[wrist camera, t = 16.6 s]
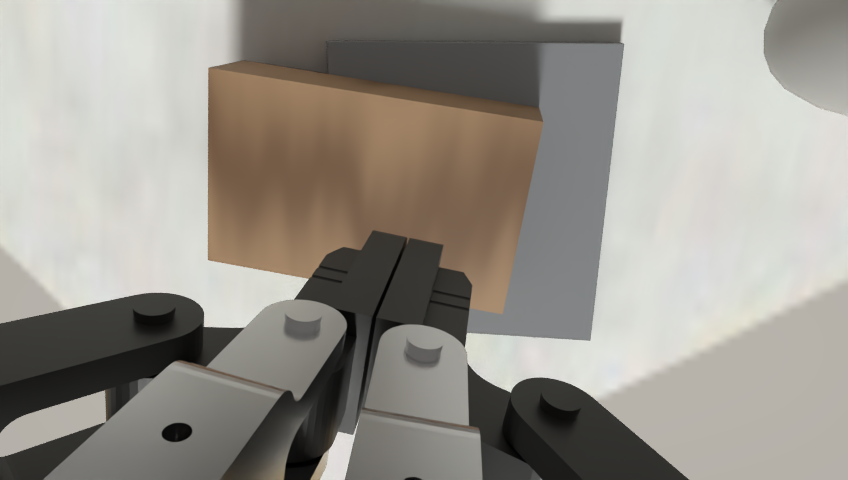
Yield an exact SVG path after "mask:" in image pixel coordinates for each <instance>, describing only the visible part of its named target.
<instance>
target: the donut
mask: <svg viewBox="0 0 848 480" xmlns="http://www.w3.org/2000/svg"><path fill="white" fill-rule="evenodd" d="M764 55H765V58H766V61H767V63H768V66H769V69H770V72H771V74H772V75H773V76H774V77H775V78H776V79H777V80H778V82H779V83H780V84H781V85H782V86H783V87H784V89H786V90H788V91H789V92H791V93H793V94H795V95H796V96H798V97H800V98H802V99H803V100H805V101H807V102H809V103H811V104H812V105H814V106H816V107H818V108H820V109H824V110H828V111H831V112H835V113H839V114H842V115H846V116H848V0H778V1H777V2H776V4H775V5H774V6H773V8H772V10H771V13H770V16H769V19H768V21H767V24H766V27H765V30H764Z"/></svg>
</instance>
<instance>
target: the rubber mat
mask: <svg viewBox="0 0 848 480" xmlns="http://www.w3.org/2000/svg"><path fill="white" fill-rule="evenodd" d="M326 44H327V62H328V74H332V75H338V76H345V77H351V78H357V79H363V80H370V81H376V82H382V83H388V84H395V85H401V86H407V87H413V88H420V89H426V90H432V91H438V92H445V93H451V94H457V95H463V96H470V97H476V98H482V99H488V100H495V101H501V102H507V103H513V104H520V105H526V106H532V107H538V108H539V109H540V112H541V115H542V119H543V127H542V132H541V136H540V141H539V146H538V150H537V155H536V160H535V164H534V169H533V174H532V179H531V183H530V188H529V193H528V197H527V202H526V207H525V211H524V216H523V221H522V226H521V230H520V235H519V240H518V244H517V249H516V254H515V258H514V263H513V268H512V273H511V277H510V282H509V287H508V291H507V296H506V301H505V305H504V310H503V314H498V313H493V312H487V311H482V310H476V309H471V308H470V309H469V318H468V326H467V333H480V334H496V335H511V336H527V337H542V338H558V339H573V340H589V341H590V338H591V330H592V321H593V312H594V303H595V295H596V286H597V277H598V268H599V260H600V251H601V242H602V233H603V225H604V216H605V207H606V198H607V190H608V181H609V172H610V163H611V155H612V146H613V137H614V128H615V119H616V111H617V102H618V93H619V84H620V76H621V67H622V58H623V49H624V44H623V43H580V42H440V41H328V42H326Z"/></svg>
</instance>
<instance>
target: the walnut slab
mask: <svg viewBox="0 0 848 480" xmlns="http://www.w3.org/2000/svg"><path fill="white" fill-rule="evenodd" d="M542 127H543V119H542V115H541V112H540V109H539V108H538V107H532V106H526V105H520V104H513V103H507V102H501V101H495V100H488V99H482V98H476V97H470V96H463V95H457V94H451V93H445V92H438V91H432V90H426V89H420V88H413V87H407V86H401V85H395V84H388V83H382V82H376V81H370V80H363V79H357V78H351V77H345V76H338V75H332V74H326V73H320V72H313V71H307V70H301V69H295V68H288V67H282V66H276V65H270V64H263V63H257V62H251V61H245V60H244V61H239V62H234V63H229V64H225V65H220V66H215V67H210V68H209V73H208V260H210V261H216V262H221V263H227V264H232V265H237V266H243V267H248V268H254V269H259V270H265V271H270V272H275V273H281V274H286V275H292V276H297V277H303V278H308V279H309V278H310V277H312V274H313V273H314V271H315V270H316V269H317V268H318V267H319V264H320V263H321V262H322V260H323V259H324V258H325V256H326V255H327V254H329V253H331V252H333V251H335V250H337V249H340V248H342V247H347V248H352V249H356V250H361V249H362V248H363V246H364V244H365V243H366V241H367V239H368V238H369V236H370V234H371V233H372V231H373V230H375V231H380V232H385V233H390V234H394V235H399V236H404V237H407V243H408V241H409V238H414V239H418V240H423V241H428V242H433V243H437V244H442V245H444V246H443V251H442V257H441V262H440V266H439V267H441V268H446V269H451V270H455V271H460V272H464V273H465V275H466V276H467V278H468V279H469V281H470V283H471V284H472V293H471V300H470V308H471V309H476V310H482V311H487V312H493V313H498V314H503V310H504V305H505V301H506V296H507V291H508V287H509V282H510V277H511V273H512V268H513V263H514V258H515V254H516V249H517V244H518V240H519V235H520V230H521V226H522V221H523V216H524V211H525V207H526V202H527V197H528V193H529V188H530V183H531V179H532V174H533V169H534V164H535V160H536V155H537V150H538V146H539V141H540V136H541V132H542Z"/></svg>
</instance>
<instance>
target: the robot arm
mask: <svg viewBox="0 0 848 480" xmlns="http://www.w3.org/2000/svg"><path fill="white" fill-rule="evenodd" d="M443 246H444V245H442V244H437V243H433V242H428V241H423V240H418V239H414V238H409V241H408V243H407V237H404V236H399V235H394V234H390V233H385V232H380V231H375V230H373V231H372V233H371V234H370V236H369V238H368V239H367V241H366V243H365V244H364V246H363V248H362V249H361V250H356V249H352V248H347V247H342V248H340V249H337V250H335V251H333V252H331V253H329V254H327V255H326V256H325V258H324V259H323V260H322V262H321V263H320V264H319V267H318V268H317V269H316V270H315V271H314V273H313V274H312V277H310V278H309V280H308V281H307V282H306V284H305V285H304V287H303V288H302V289H301V291H300V292H299V294H298V295H297V296H296V298H295V299H294V300H286V301H281V302H277V303H274V304H271V305H269V306H267V307H266V308H264V309H263V310H262V311H261V312H260V313H259V314H258V315H257V316H256V317H255V318H254V319H253V320H252V321H251V322H250V323H249V324H248V325H247V326H246V327H245V328H216V327H204V312H203V309H202V308H201V306H200V305H199V304H198V303H196V302H195V301H193V300H191V299H189V298H187V297H184V296H180V295H176V294H169V293H146V294H139V295H134V296H129V297H124V298H119V299H115V300H110V301H105V302H101V303H96V304H91V305H86V306H82V307H77V308H72V309H68V310H63V311H58V312H53V313H49V314H44V315H39V316H34V317H30V318H25V319H20V320H16V321H11V322H6V323H1V324H0V432H1V431H2V430H3V429H4V428H5V427H6V426H7V425H8V424H9V423H11V422H12V421H14V420H15V419H17V418H19V417H21V416H23V415H26V414H29V413H32V412H35V411H39V410H41V409H45V408H48V407H51V406H55V405H58V404H61V403H65V402H68V401H71V400H74V399H78V398H81V397H84V396H87V395H91V394H94V393H97V392H100V391H104V390H105V394H106V395H105V396H106V397H105V398H106V422H105V423H102V424H99V425H96V426H93V427H91V428H87V429H85V430H82V431H79V432H76V433H73V434H70V435H67V436H64V437H61V438H58V439H55V440H53V441H49V442H46V443H44V444H41V445H38V446H35V447H32V448H29V449H26V450H23V451H20V452H17V453H14V454H11V455H8V456H5V457H0V480H320V478H321V476H322V474H323V472H324V470H325V468H326V465H327V460H328V453H329V448H330V447H331V446H332V444H333V442H334V440H335V437H336V435H337V432H338V431H339V432H343V433H347V434H352V435H353V434H354V431H355V428H356V425H357V422H358V420H359V422H358V426H357V430H356V434H355V439H354V443H353V447H352V452H351V456H350V460H349V464H348V469H347V473H346V477H345V480H689V479H688V478H686V477H685V476H684V475H683V474H682V473H680V472H679V471H678V470H677V469H676V468H675V467H673V466H672V465H671V464H670V463H669V462H668V461H666V460H665V459H664V458H663V457H662V456H660V455H659V454H658V453H657V452H656V451H655V450H653V449H652V448H651V447H650V446H649V445H648V444H646V443H645V442H644V441H643V440H642V439H640V438H639V437H638V436H637V435H636V434H635V433H633V432H632V431H631V430H630V429H629V428H628V427H626V426H625V425H624V424H623V423H622V422H621V421H619V420H618V419H617V418H616V417H615V416H613V415H612V414H611V413H610V412H609V411H608V410H606V409H605V408H604V407H603V406H602V405H601V404H599V403H598V402H597V401H596V400H595V399H594V398H592V397H591V396H590V395H588V394H587V393H586V392H584V391H582V390H581V389H579V388H577V387H575V386H573V385H571V384H568V383H565V382H562V381H559V380H555V379H550V378H530V379H526V380H523V381H521V382H519V383H517V384H516V385H515V386H514V388H513V389H512V392H511V393H510V392H508V391H506V390H503V389H501V388H499V387H497V386H495V385H493V384H491V383H489V382H487V381H486V380H484V379H483V378H481V377H480V376H479V375H477V374H476V373H475V372H474V371H473V370H472V369H471V367H470V366H469V365H468V363H467V352H466V350H465V342H466V334H467V326H468V318H469V309H470V300H471V293H472V284H471V283H470V281H469V279H468V278H467V276H466V275H465V273H464V272H460V271H455V270H451V269H446V268H441V267H439V266H440V262H441V257H442V251H443Z"/></svg>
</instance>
